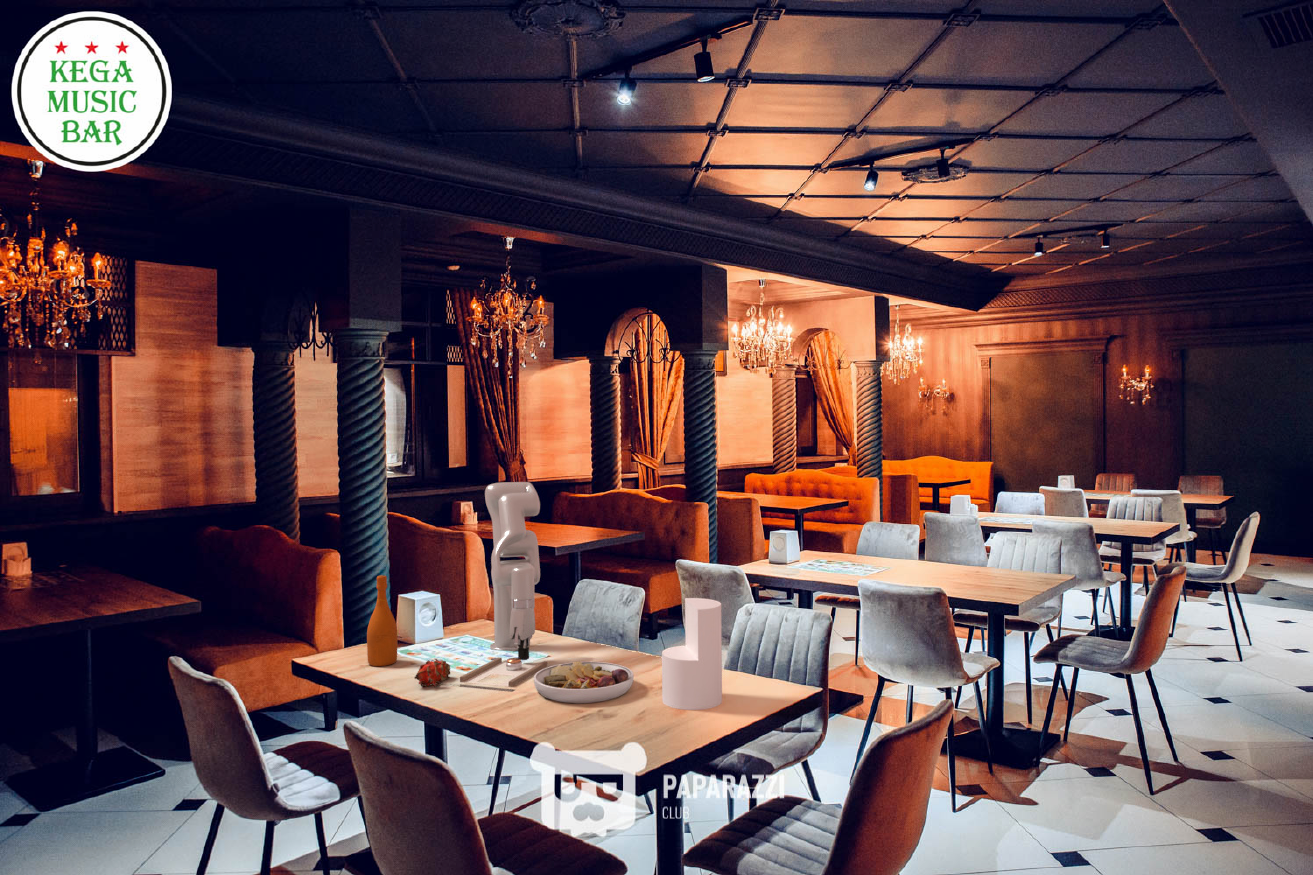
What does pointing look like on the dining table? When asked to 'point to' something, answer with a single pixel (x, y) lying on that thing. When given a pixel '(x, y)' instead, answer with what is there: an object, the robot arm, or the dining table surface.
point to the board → (500, 669)
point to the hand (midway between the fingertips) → (523, 658)
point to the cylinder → (695, 660)
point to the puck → (513, 664)
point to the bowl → (583, 681)
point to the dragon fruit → (433, 673)
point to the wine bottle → (382, 630)
